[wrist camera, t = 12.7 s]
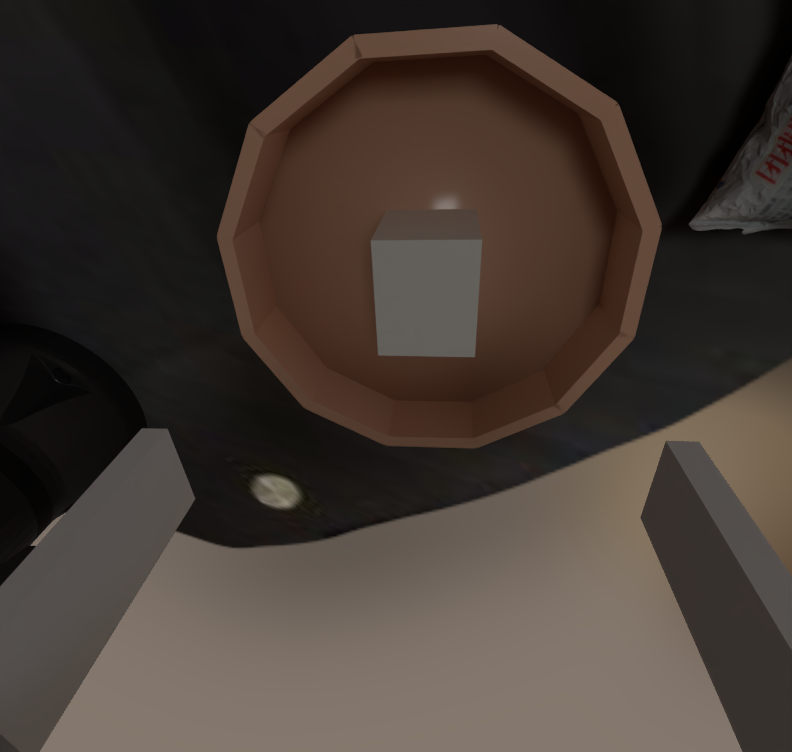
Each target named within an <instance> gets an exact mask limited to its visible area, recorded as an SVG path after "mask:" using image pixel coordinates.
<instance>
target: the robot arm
mask: <svg viewBox="0 0 792 752" xmlns="http://www.w3.org/2000/svg"><path fill="white" fill-rule="evenodd" d="M194 500H195V497H194V495H193V492H192V489H191V487H190V484H189V482H188V479H187V477H186V474H185V472H184V469H183V467H182V464H181V462H180V459H179V457H178V454H177V452H176V449H175V447H174V444H173V442H172V439H171V437H170V434H169V431H168V429H147V425H146V420H145V416H144V413H143V411H142V408H141V406H140V404H139V402H138V400H137V398H136V396H135V395H134V393H133V392H132V390H131V389H130V388H129V386H128V385H127V384H126V382H125V381H124V380H123V379H122V378H121V377H120V375H119V374H118V373H117V372H116V371H115V370H114V369H113V368H112V367H110V366H109V365H108V364H107V363H106V362H105V361H104V360H102V359H101V358H100V357H98V356H97V355H96V354H94V353H93V352H92V351H90V350H89V349H87V348H85V347H84V346H82V345H80V344H79V343H77V342H75V341H73V340H71V339H69V338H67V337H65V336H63V335H60V334H58V333H55V332H52V331H50V330H46V329H43V328H39V327H35V326H30V325H23V324H2V325H0V752H40V750H41V748H42V747H43V745H44V744H45V742H46V740H47V739H48V737H49V735H50V734H51V732H52V731H53V729H54V727H55V726H56V724H57V722H58V721H59V719H60V717H61V716H62V714H63V713H64V711H65V709H66V708H67V706H68V705H69V703H70V701H71V700H72V698H73V697H74V695H75V693H76V692H77V690H78V688H79V687H80V685H81V684H82V682H83V680H84V679H85V677H86V675H87V674H88V672H89V670H90V669H91V667H92V666H93V664H94V662H95V661H96V659H97V657H98V656H99V654H100V653H101V651H102V649H103V648H104V646H105V645H106V643H107V641H108V640H109V638H110V636H111V635H112V633H113V632H114V630H115V628H116V627H117V625H118V623H119V622H120V620H121V619H122V617H123V615H124V614H125V612H126V610H127V609H128V607H129V606H130V604H131V602H132V601H133V599H134V597H135V596H136V594H137V593H138V591H139V589H140V588H141V586H142V584H143V583H144V581H145V580H146V578H147V576H148V575H149V573H150V572H151V570H152V568H153V567H154V565H155V563H156V562H157V560H158V559H159V557H160V555H161V554H162V552H163V550H164V549H165V547H166V546H167V544H168V542H169V541H170V539H171V537H172V536H173V534H174V533H175V531H176V529H177V528H178V526H179V524H180V523H181V521H182V520H183V518H184V516H185V515H186V513H187V511H188V510H189V508H190V507H191V505H192V503H193V502H194ZM66 512H67V513H66ZM64 513H66V514H65V515H64V516H63V517H62V518H61V519H60V520H59V521H58V523H57V524H56V525H55V526H54V527H53V528H52V529H51V530H50V531H49V533H48V534H47V535H46V536H45V537H44V538H43V539H42V540H41V542H40V543H39V544H38V545H37V546H30V545H31V544H32V543H33V541H35V539H36V538H37V537H38V536H39V535H40V534H41V533H42V532H43V531H44V530H45V528H46V527H47V526H48V525H49V524H50V523H51V522H52V521H53V520H54V519H56V518H57V517H59V516H61V515H62V514H64ZM641 520H642V522H643V524H644V526H645V529H646V531H647V533H648V536H649V538H650V540H651V542H652V545H653V547H654V550H655V552H656V554H657V556H658V558H659V560H660V563H661V565H662V568H663V570H664V572H665V575H666V577H667V579H668V582H669V584H670V586H671V588H672V591H673V593H674V595H675V598H676V600H677V602H678V604H679V607H680V609H681V611H682V614H683V616H684V618H685V621H686V623H687V625H688V628H689V630H690V632H691V634H692V636H693V639H694V641H695V643H696V646H697V648H698V650H699V653H700V655H701V657H702V659H703V662H704V664H705V666H706V669H707V671H708V673H709V675H710V678H711V680H712V683H713V685H714V687H715V689H716V692H717V694H718V696H719V699H720V701H721V703H722V705H723V708H724V710H725V712H726V714H727V717H728V719H729V721H730V723H731V726H732V728H733V731H734V733H735V735H736V737H737V740H738V742H739V744H740V747H741V749H742V751H743V752H792V576H791V574H790V573H789V571H788V570H787V569H786V567H785V565H784V564H783V563H782V561H781V560H780V558H779V557H778V555H777V554H776V552H775V551H774V550H773V548H772V547H771V545H770V544H769V543H768V541H767V539H766V538H765V537H764V535H763V534H762V532H761V531H760V530H759V528H758V527H757V525H756V524H755V522H754V521H753V520H752V518H751V516H750V515H749V513H748V512H747V511H746V509H745V508H744V506H743V505H742V503H741V502H740V500H739V499H738V498H737V496H736V495H735V493H734V492H733V490H732V489H731V487H730V486H729V484H728V483H727V482H726V480H725V479H724V477H723V476H722V475H721V473H720V471H719V470H718V469H717V467H716V466H715V465H714V463H713V461H712V460H711V459H710V457H709V456H708V454H707V453H706V451H705V450H704V448H703V447H702V445H701V444H700V443H699V442H685V441H666V442H665V445H664V448H663V451H662V455H661V457H660V461H659V464H658V467H657V470H656V473H655V476H654V479H653V482H652V485H651V488H650V491H649V494H648V497H647V500H646V503H645V506H644V509H643V512H642V515H641Z"/></svg>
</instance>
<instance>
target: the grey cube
mask: <svg viewBox="0 0 792 752" xmlns="http://www.w3.org/2000/svg"><path fill="white" fill-rule="evenodd" d="M481 251H482V236H481V230H480V225H479V220H478V214H477V209H432V210H386V212H385V214H384V216H383V218H382V220H381V222H380V224H379V226H378V227H377V229H376V231H375V233H374V235H373V237H372V239H371V253H372V268H373V284H374V299H375V314H376V330H377V345H378V355H385V356H435V357H475V348H476V332H477V316H478V299H479V283H480V267H481Z"/></svg>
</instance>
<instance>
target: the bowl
mask: <svg viewBox="0 0 792 752" xmlns="http://www.w3.org/2000/svg"><path fill="white" fill-rule="evenodd" d="M432 209H477V214H478V220H479V225H480V230H481V236H482V251H481V267H480V283H479V299H478V316H477V332H476V348H475V357H435V356H385V355H378V345H377V330H376V314H375V299H374V284H373V268H372V253H371V239H372V237H373V235H374V233H375V231H376V229H377V227H378V226H379V224H380V222H381V220H382V218H383V216H384V214H385V212H386V210H432ZM661 225H662V224H661V221H660V218H659V215H658V212H657V210H656V207H655V204H654V201H653V199H652V196H651V193H650V190H649V187H648V185H647V182H646V179H645V176H644V173H643V171H642V168H641V165H640V162H639V159H638V157H637V154H636V151H635V148H634V145H633V143H632V140H631V137H630V134H629V131H628V129H627V126H626V123H625V120H624V117H623V115H622V112H621V109H620V106H619V104H617V102H616V101H614V100H613V99H611V98H610V97H608V96H607V95H605V94H604V93H602V92H601V91H599V90H598V89H596V88H595V87H593V86H592V85H590V84H589V83H587V82H586V81H584V80H582V79H581V78H579V77H578V76H576V75H575V74H573V73H572V72H570V71H569V70H567V69H566V68H564V67H563V66H561V65H560V64H558V63H557V62H555V61H554V60H552V59H551V58H549V57H548V56H546V55H545V54H543V53H541V52H540V51H538V50H537V49H535V48H534V47H532V46H531V45H529V44H528V43H526V42H525V41H523V40H522V39H520V38H519V37H517V36H516V35H514V34H513V33H511V32H510V31H508V30H507V29H505V28H504V27H502V26H500V25H499V26H498V27H497V24H495V25H481V26H468V27H454V28H441V29H427V30H414V31H400V32H386V33H373V34H359V35H354V37H353V36H351V37H350V38H348V39H347V40H346V41H345V42H344V43H342V44H341V45H340V46H339V47H338V48H337V49H335V50H334V51H333V52H332V53H331V54H330V55H328V56H327V57H326V58H325V59H324V60H322V61H321V62H320V63H319V64H318V65H317V66H315V67H314V68H313V69H312V70H311V71H310V72H308V73H307V74H306V75H305V76H304V77H302V78H301V79H300V80H299V81H298V82H297V83H295V84H294V85H293V86H292V87H291V88H290V89H288V90H287V91H286V92H285V93H284V94H282V95H281V96H280V97H279V98H278V99H277V100H275V101H274V102H273V103H272V104H271V105H270V106H268V107H267V108H266V109H265V110H264V111H263V112H261V113H260V114H259V115H258V116H257V117H255V118H254V119H253V120H252V121H251V122H250V124H249V125H248V129H247V132H246V136H245V139H244V143H243V146H242V150H241V153H240V157H239V160H238V164H237V167H236V171H235V174H234V178H233V181H232V185H231V188H230V192H229V195H228V199H227V202H226V206H225V209H224V213H223V216H222V220H221V223H220V227H219V230H218V233H217V236H218V237H217V240H218V244H219V248H220V252H221V256H222V260H223V264H224V268H225V272H226V275H227V279H228V283H229V287H230V291H231V295H232V299H233V303H234V307H235V311H236V315H237V319H238V323H239V327H240V331H241V335H242V336H244V337H243V339H244V340H245V341H246V342H247V343H248V344H249V346H250V347H251V348H252V349H253V350H254V351H255V352H256V354H257V355H258V356H259V357H260V358H261V359H262V360H263V362H264V363H265V364H266V365H267V366H268V367H269V368H270V370H271V371H272V372H273V373H274V374H275V375H276V377H277V378H278V379H279V380H280V381H281V382H282V383H283V385H284V386H285V387H286V388H287V389H288V390H289V391H290V393H291V394H292V395H293V396H294V397H295V398H296V399H297V401H298V402H299V403H300V404H301V405H302V406H303V408H304V407H305V409H307V410H309V411H311V412H313V413H316V414H318V415H320V416H322V417H324V418H326V419H329V420H331V421H333V422H335V423H337V424H340V425H342V426H344V427H346V428H348V429H350V430H353V431H355V432H357V433H359V434H361V435H363V436H366V437H368V438H370V439H372V440H374V441H377V442H379V443H381V444H383V445H387V446H409V447H444V448H475V447H476V448H479V447H481V446H484V445H486V444H489V443H491V442H494V441H496V440H499V439H501V438H504V437H506V436H509V435H511V434H514V433H516V432H519V431H521V430H524V429H526V428H529V427H531V426H534V425H536V424H539V423H541V422H544V421H546V420H549V419H551V418H554V417H557V416H559V415H562V414H563V412H564V413H565V412H566V411H567V410H568V409H569V408H570V407H571V406H572V404H573V403H574V402H575V401H576V400H577V399H578V398H579V397H580V396H581V395H582V394H583V393H584V392H585V391H586V389H587V388H588V387H589V386H590V385H591V384H592V383H593V382H594V381H595V380H596V379H597V378H598V377H599V376H600V374H601V373H602V372H603V371H604V370H605V369H606V368H607V367H608V366H609V365H610V364H611V363H612V362H613V360H614V359H615V358H616V357H617V356H618V355H619V354H620V353H621V352H622V351H623V350H624V349H625V348H626V347H627V345H628V344H629V343H630V342H631V341H632V340H633V339H634V338H633V337H635V334H636V330H637V326H638V322H639V318H640V314H641V310H642V306H643V302H644V298H645V294H646V289H647V285H648V281H649V277H650V273H651V269H652V265H653V261H654V257H655V253H656V249H657V245H658V241H659V237H660V233H661V229H662V227H661Z"/></svg>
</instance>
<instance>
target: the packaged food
mask: <svg viewBox="0 0 792 752" xmlns="http://www.w3.org/2000/svg"><path fill="white" fill-rule="evenodd" d="M727 224H728V225H727ZM689 225H690V227H691V228H692V229H693V230H698V231H702V230H712V229H734V228H741V229H745V230H744V231H742V233H743V234H749V233H754V232H758V231H762V230H770V229H780V228H785V229H792V55H791V58H790V60H789V61H788V63H787V65H786V68H785V70H784V72H783V75H782V77H781V79H780V80H779V82H778V84H777V86H776V87H775V89H774V91H773V93H772V95H771V96H770V98H769V99H768V101H767V102H766V106H765V111H764V113H763V115H762V116H761V118H760V120H759V121H758V123H757V124H756V126H755V127H754V129H753V130H752V131H751V133H750V134H749V136H748V137H747V139H746V140H745V142H744V143H743V145H742V146H741V148H740V149H739V151H738V152H737V154H736V156H735V157H734V159H733V160H732V162H731V164H730V165H729V167H728V169H727V170H726V172H725V173H724V175H723V177H722V178H721V180H720V181H719V183H718V184H717V186H716V187H715V189H714V190H713V191H712V193H711V194H710V196H709V198H708V200H707V202H706V203H704V204H703V205H702V207H701V209H700V211H699V212H698V213H697V214H696V215H695V216H694V218H693V219H692V220H691V221H690V223H689ZM748 227H749V228H748Z"/></svg>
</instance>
